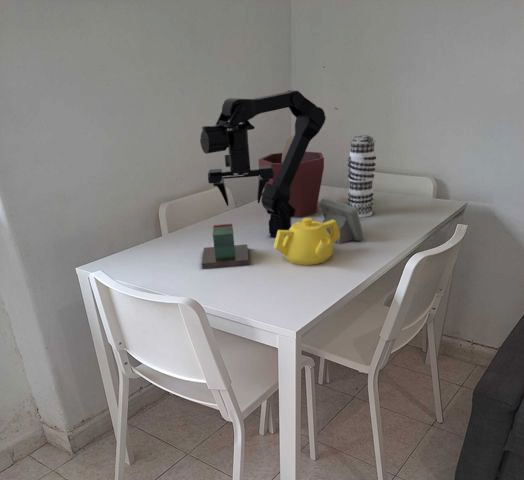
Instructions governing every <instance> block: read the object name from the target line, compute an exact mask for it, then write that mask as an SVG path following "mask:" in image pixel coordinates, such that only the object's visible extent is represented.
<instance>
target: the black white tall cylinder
mask: <svg viewBox="0 0 524 480" xmlns="http://www.w3.org/2000/svg"><path fill="white" fill-rule="evenodd" d="M375 142H376V140H374V138H373V136H371V135H367V134H364V135H363V134H362V135H356V136H354V137H353V138H352V140H351V141H350V142H349V143H350V151H349V157H348V158H347V162H348V163H347V166H348V170H347V172H348V175H347V177H348V178H347V179H348V181H349V188H348V193H347V196H348V198H347V201H348V202H347V204H346V205H349V206H352V207H355V208H356V209H357V211H358V215H359V218H367V217H370V216H372V215H373V212H372V211H373V205H374V203H373V200H374V198H373V196H374V192H373V191H374V190H373V189H374V187H373V181H374V180H375V174H374V171H376V167H375V166H376V163H375V162H374V161H375V160H376V159H377V156H376V152H375V151H376V150H375Z"/></svg>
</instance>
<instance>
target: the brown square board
mask: <svg viewBox="0 0 524 480" xmlns="http://www.w3.org/2000/svg"><path fill="white" fill-rule="evenodd" d="M234 247H235V258H231V259H219V260H216V258H215V250H214V246H209V247H203V252H202V260H201V268H202V269H214V268H215V269H216V268H228V267H229V268H230V267H241V266H250V261H249V259H250V258H249V249H248V244H246V243H245V244H234Z"/></svg>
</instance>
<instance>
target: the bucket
mask: <svg viewBox="0 0 524 480" xmlns="http://www.w3.org/2000/svg"><path fill="white" fill-rule="evenodd" d="M294 136H295V135H291V136H289V137H288V138H287V139H286V141H285V145H284V148H283V150H282V152H275V153H270V154H268V155H265V156H262V157H260V158H259V159H258V167H259V166H265V165H271V166H272V168H273V172H274V178H273V179H269V182H266V184H267V183H269V184H272V183H273V182H274V181H275V180H276V178H277V175H278V173H279V171H280V168H281V166H282V164H283V161H284V159H285V157H286V154H287V152H288V150H289V147H290V145H291V143H292V140H293V138H294ZM324 170H325V157H324V155H323V153H322V152H319V151H318V152H317V151H307V150H306V151H305V153H304V156H303V158H302V160H301V163H300V165H299V167H298V169H297V172H296V174H295V176H294V179H293V181H292V183H291V186H290V199H289V204H290V205H291V206H292V207H293V208H294V209H295V214H294V217H293V218H302V217H303V218H304V217H305V216H309V215H313V214H316V213H317V208H318V203H319V196H320V193H321V186H322V180H323V175H324ZM266 184H265V186H266ZM265 186H264V189H265ZM264 189H263V190H264Z"/></svg>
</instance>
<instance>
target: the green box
mask: <svg viewBox="0 0 524 480" xmlns="http://www.w3.org/2000/svg"><path fill="white" fill-rule="evenodd" d="M212 241H213V247H214V250H215V258H216V260H219V259H231V258H235V247H234V245H235V237H234V227H233V223H222V224H213V226H212Z"/></svg>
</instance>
